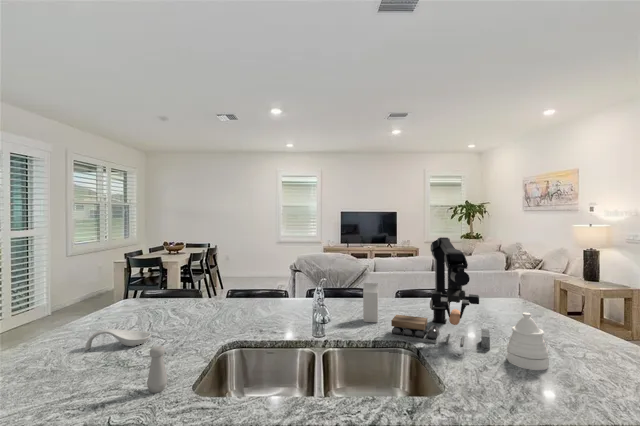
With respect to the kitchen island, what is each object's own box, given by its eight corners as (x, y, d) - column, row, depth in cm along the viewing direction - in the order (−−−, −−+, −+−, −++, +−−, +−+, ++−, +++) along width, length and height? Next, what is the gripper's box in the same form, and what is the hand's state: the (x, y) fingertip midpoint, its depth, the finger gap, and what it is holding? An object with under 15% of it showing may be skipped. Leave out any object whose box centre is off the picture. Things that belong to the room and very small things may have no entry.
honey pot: (549, 373, 116) (548, 319, 116) (506, 364, 123) (505, 314, 123) (548, 359, 127) (547, 310, 127) (508, 352, 133) (507, 306, 134)
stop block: (481, 340, 146) (481, 328, 146) (489, 341, 145) (489, 329, 145) (481, 348, 137) (481, 336, 137) (490, 350, 136) (489, 337, 136)
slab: (396, 319, 161) (396, 314, 162) (427, 323, 156) (427, 318, 156) (391, 326, 152) (391, 320, 152) (424, 330, 147) (424, 324, 147)
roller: (451, 317, 152) (450, 308, 152) (460, 318, 150) (460, 309, 150) (449, 324, 142) (449, 314, 142) (459, 325, 141) (459, 315, 141)
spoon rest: (152, 338, 153) (152, 321, 153) (148, 347, 142) (148, 330, 142) (90, 344, 146) (90, 327, 146) (81, 355, 134) (81, 336, 135)
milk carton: (377, 322, 172) (377, 284, 172) (363, 322, 173) (363, 284, 173) (378, 318, 179) (377, 282, 179) (364, 318, 180) (364, 281, 180)
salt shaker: (151, 385, 109) (151, 344, 109) (170, 384, 110) (170, 343, 110) (143, 395, 103) (143, 351, 103) (163, 394, 104) (163, 350, 104)
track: (397, 328, 163) (397, 320, 163) (464, 337, 150) (464, 328, 150) (390, 337, 151) (390, 328, 151) (463, 347, 139) (463, 337, 139)
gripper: (429, 282, 143) (429, 320, 143) (478, 286, 135) (479, 326, 135) (432, 278, 153) (433, 313, 153) (478, 281, 145) (479, 318, 145)
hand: (455, 317), depth 146 cm, fingers closed on roller, 4 cm apart
